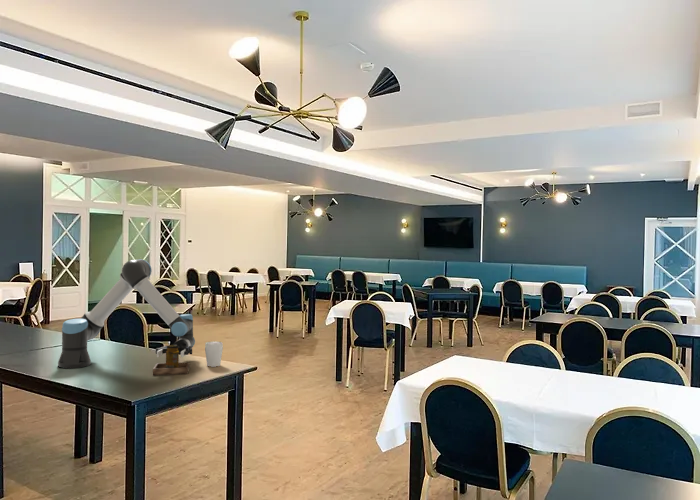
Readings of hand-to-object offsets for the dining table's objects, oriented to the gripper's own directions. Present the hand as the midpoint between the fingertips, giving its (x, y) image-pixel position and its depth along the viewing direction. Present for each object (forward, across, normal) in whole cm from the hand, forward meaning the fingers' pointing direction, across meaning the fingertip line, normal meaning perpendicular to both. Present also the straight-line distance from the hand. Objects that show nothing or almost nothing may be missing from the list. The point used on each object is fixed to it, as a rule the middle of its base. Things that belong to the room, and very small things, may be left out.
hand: (169, 354), depth 270 cm
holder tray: (-4, 0, -9) cm, 10 cm away
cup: (-18, -18, -10) cm, 27 cm away
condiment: (-4, 0, -9) cm, 10 cm away
